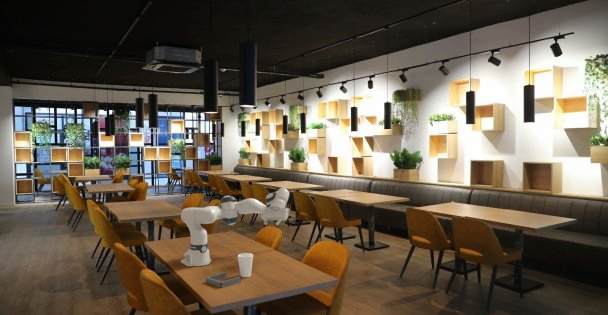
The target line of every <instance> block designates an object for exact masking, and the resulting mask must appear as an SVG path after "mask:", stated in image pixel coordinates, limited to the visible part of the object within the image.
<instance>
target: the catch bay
mask: <svg viewBox="0 0 608 315" xmlns="http://www.w3.org/2000/svg"><path fill="white" fill-rule="evenodd" d="M225 278H227V272H226V271H224V272H220V273H217V274H213V275H210V276H206V277H205V282H206V283H207V284H210V285H211V286H215V287H217V288H220V289H222V288H225V287H228V286H231V285H236V284H239V283H241V276H237V277H234V278H229V279H227V280H224V281H219V280H221V279H225Z"/></svg>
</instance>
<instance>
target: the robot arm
mask: <svg viewBox="0 0 608 315" xmlns="http://www.w3.org/2000/svg"><path fill="white" fill-rule="evenodd" d="M289 198H290V191H289V190H288V189H287V188H285V187H280V188H279V189H278V190H277V191H274V192H269V193H267V194H266V196H265V198H264V203H265V204H266V205H265V204H264V203H262V202H260V200H257V199H255V198H252V197H251V198H246V199H242V200H240V201H238V199H236V198H235V197H234V196H232V195H225V196H223V197H222V198H221V199H220V204H221V207H220V206H217V205H216V206H215V205H210V206H204V207H192V206H191V207H185V208H183V209H182V211H181V213H180V218H181V221H182V222H183V223H185V224H186V226H187V228H188V230H189V233H190V234H189V235H190V243H189V244H188V245H189V249H188V250H187V251H186V252H184V255H183V258H182V259H180V263H181V264H183V265H185V266H186V267H201V266H206V265H209V264H210V263H211V262H212V259H211V256H210V255H211V254H210V250H209V242H208V232H207V230H206V229H205V228H204V227H202V225H208V224H213V223H215V221H217V220H221V222H223V223H224V224H226V225H229V226H232V225H235V224H236V223H238V221H239V217H238V214H240V215H248V214H258V215H259V214H260V218H261V219H262V220H263V224H264V225H265V226H267V225H268V224H269V223H268V221H276V222H275V225H276V226H279V225H280V223H281V222H282V221H287V220H288V218H289V214H290V210H291V208H289V207H288V204H287V203H288V201H289ZM201 224H202V225H201Z"/></svg>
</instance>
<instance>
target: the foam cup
mask: <svg viewBox="0 0 608 315" xmlns="http://www.w3.org/2000/svg"><path fill="white" fill-rule="evenodd" d="M253 260H254V254H253V253H250V252H244V253H239V254H238V255H237V261H238V267H239V275H240V278H241V277H242V278H248V277H249V278H250V277H251V275H252V269H253Z"/></svg>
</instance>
